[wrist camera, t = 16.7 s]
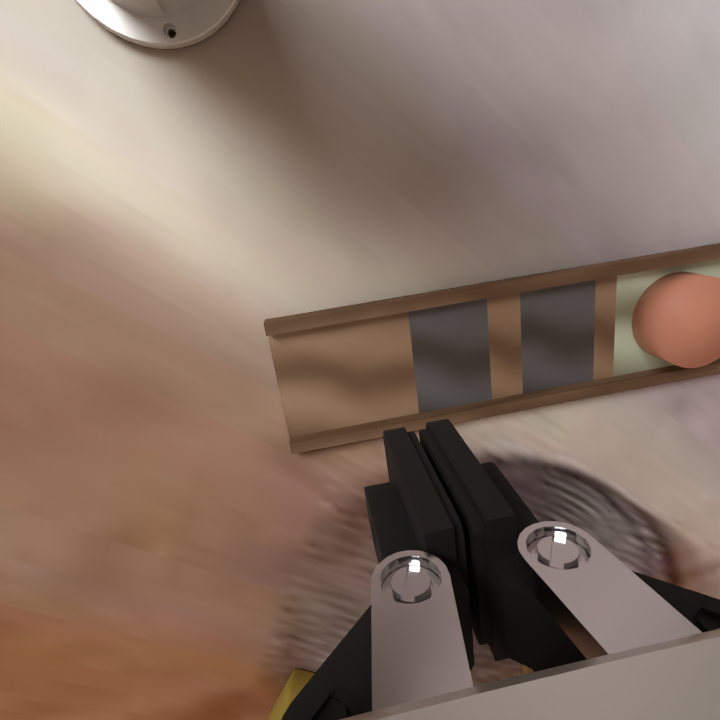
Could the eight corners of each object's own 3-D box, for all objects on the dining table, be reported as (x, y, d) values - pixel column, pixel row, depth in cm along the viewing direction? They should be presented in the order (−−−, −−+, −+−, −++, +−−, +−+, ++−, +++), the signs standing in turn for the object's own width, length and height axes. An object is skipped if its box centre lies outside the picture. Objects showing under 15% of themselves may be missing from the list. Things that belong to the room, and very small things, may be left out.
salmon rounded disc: (629, 285, 43) (657, 292, 39) (712, 260, 43) (746, 266, 40) (634, 365, 45) (660, 379, 42) (712, 342, 46) (744, 353, 43)
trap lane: (264, 319, 40) (263, 324, 38) (751, 237, 43) (767, 239, 42) (291, 446, 44) (291, 454, 42) (735, 361, 47) (749, 366, 46)
